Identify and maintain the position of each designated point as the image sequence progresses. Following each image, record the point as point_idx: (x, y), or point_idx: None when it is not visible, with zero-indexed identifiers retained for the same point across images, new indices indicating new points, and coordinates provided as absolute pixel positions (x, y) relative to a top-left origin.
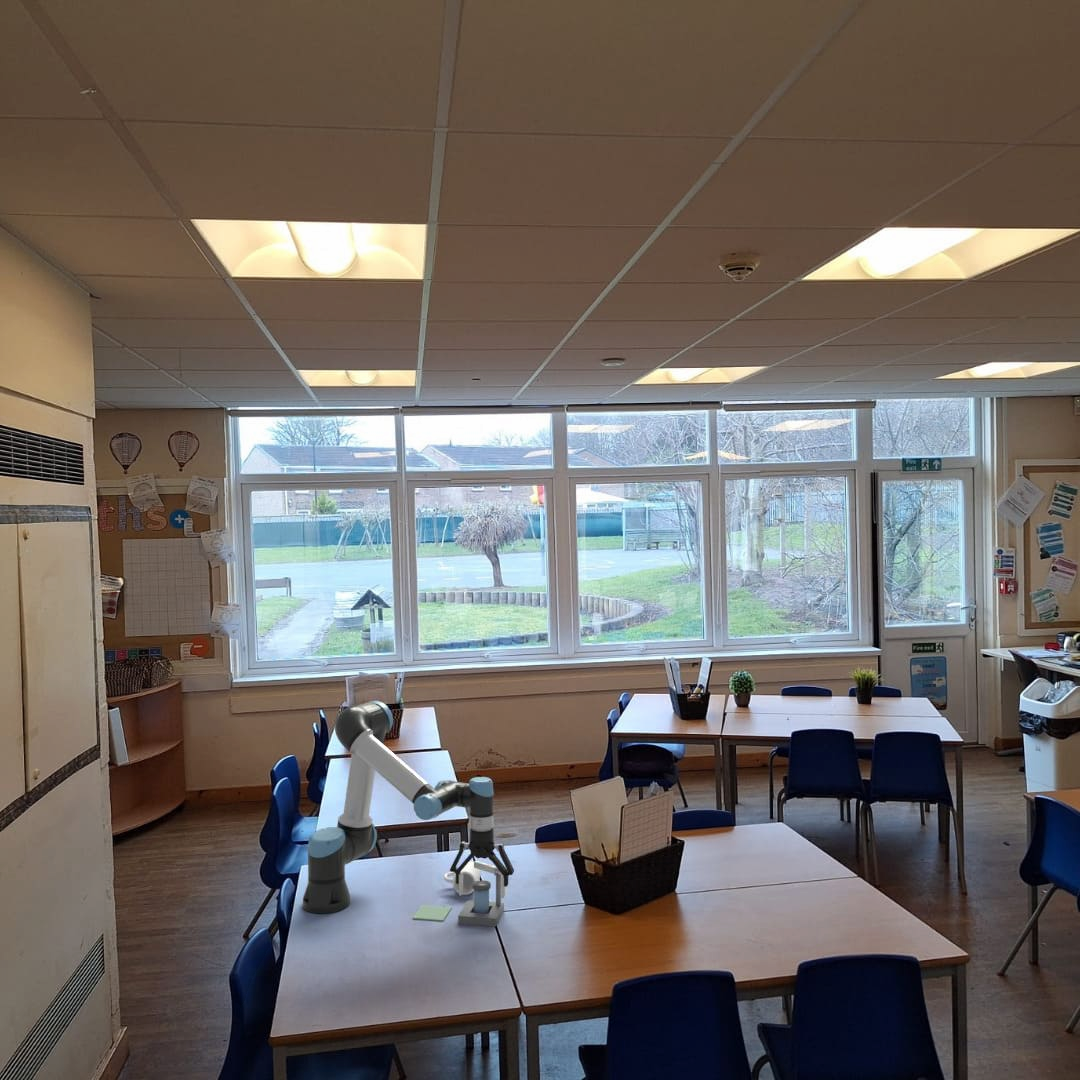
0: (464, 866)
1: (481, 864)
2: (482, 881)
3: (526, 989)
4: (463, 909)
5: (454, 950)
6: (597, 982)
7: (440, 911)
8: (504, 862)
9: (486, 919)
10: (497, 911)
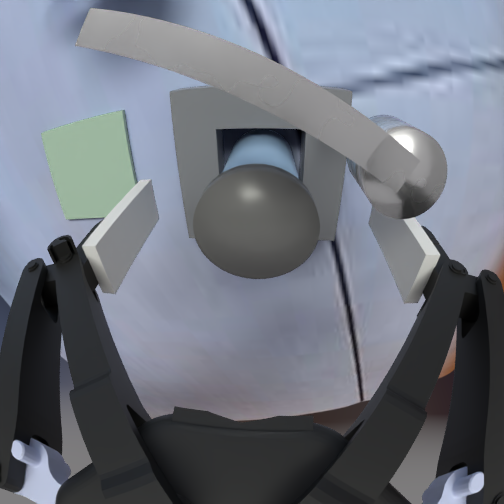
0: (112, 343)
1: (177, 71)
2: (251, 190)
3: (373, 387)
4: (186, 185)
5: (242, 337)
6: None
7: (104, 159)
8: (457, 389)
9: None
10: (334, 182)
